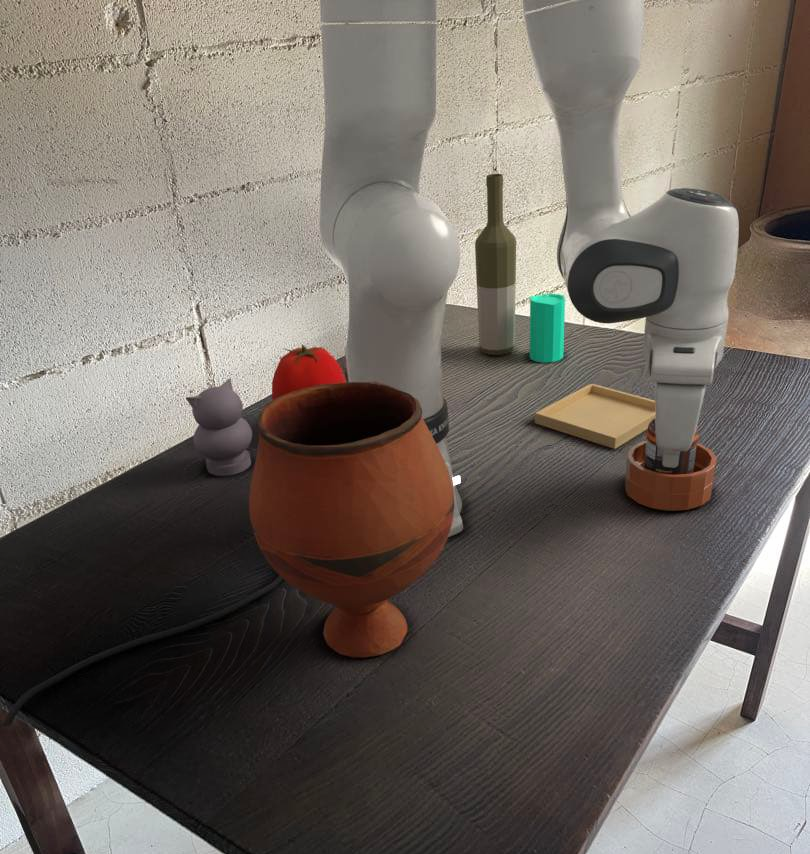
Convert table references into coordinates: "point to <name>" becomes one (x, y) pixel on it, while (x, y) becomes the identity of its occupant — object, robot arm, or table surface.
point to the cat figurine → (221, 430)
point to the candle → (547, 327)
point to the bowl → (670, 481)
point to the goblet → (350, 504)
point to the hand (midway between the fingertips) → (670, 451)
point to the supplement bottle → (656, 455)
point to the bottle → (496, 276)
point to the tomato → (305, 370)
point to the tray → (599, 415)
